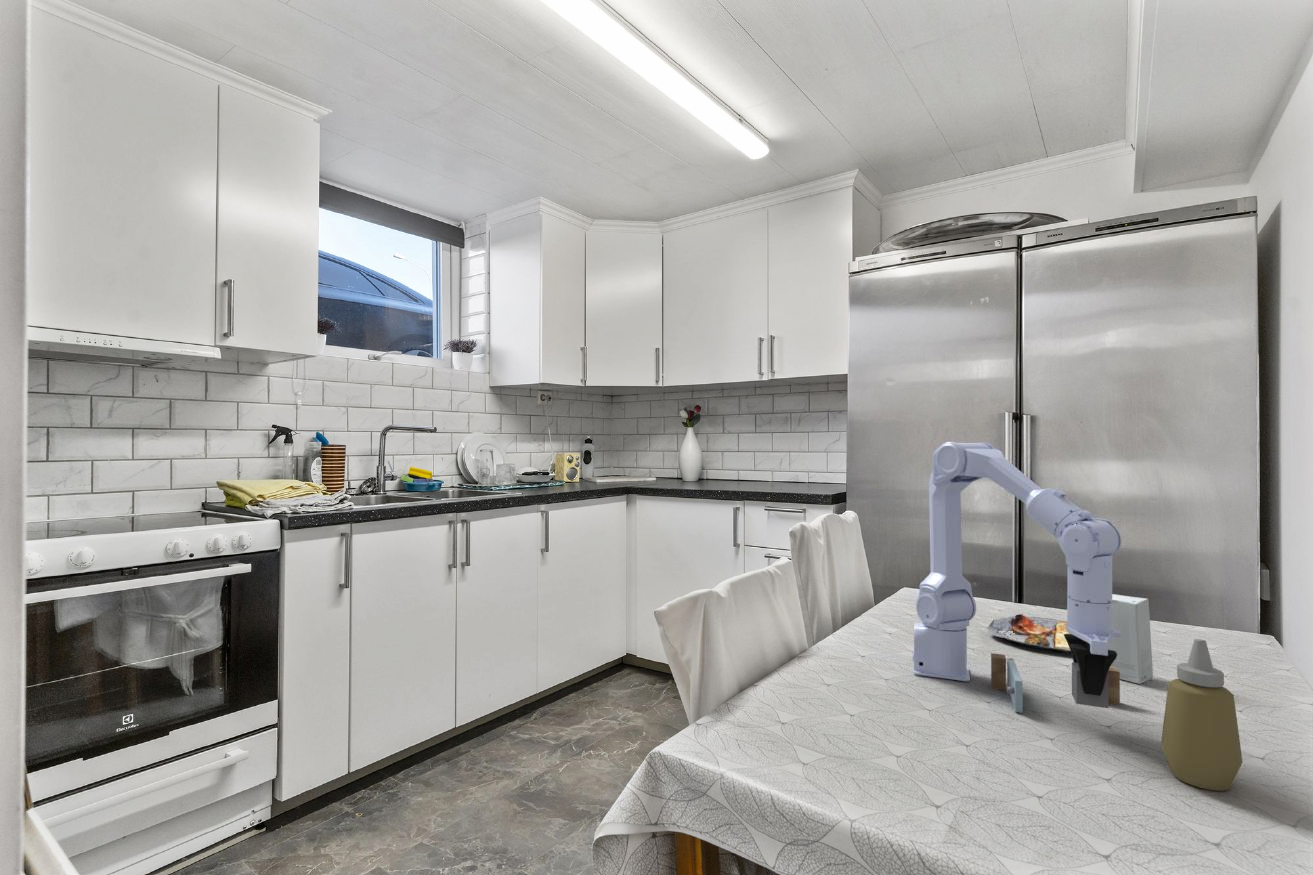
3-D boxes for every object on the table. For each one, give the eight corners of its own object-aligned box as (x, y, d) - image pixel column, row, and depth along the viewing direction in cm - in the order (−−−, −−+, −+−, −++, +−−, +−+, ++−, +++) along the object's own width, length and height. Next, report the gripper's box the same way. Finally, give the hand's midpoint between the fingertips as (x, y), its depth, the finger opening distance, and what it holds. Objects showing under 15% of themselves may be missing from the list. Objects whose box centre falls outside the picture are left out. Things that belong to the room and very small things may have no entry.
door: (1000, 685, 117) (1000, 657, 117) (1013, 686, 116) (1013, 658, 116) (1008, 710, 106) (1008, 679, 106) (1022, 712, 105) (1022, 681, 105)
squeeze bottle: (1145, 766, 88) (1144, 632, 88) (1200, 763, 88) (1200, 630, 89) (1200, 798, 80) (1199, 650, 80) (1260, 795, 80) (1260, 649, 81)
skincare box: (1153, 679, 121) (1153, 598, 121) (1139, 685, 117) (1139, 603, 118) (1102, 666, 128) (1102, 590, 128) (1088, 672, 124) (1087, 594, 125)
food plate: (999, 618, 162) (999, 604, 162) (1113, 636, 149) (1113, 620, 149) (981, 646, 142) (981, 630, 142) (1111, 669, 128) (1111, 651, 128)
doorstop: (1076, 703, 98) (1076, 670, 98) (1071, 694, 102) (1071, 662, 102) (1108, 708, 97) (1108, 674, 97) (1102, 698, 100) (1102, 666, 100)
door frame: (992, 688, 116) (991, 657, 116) (991, 683, 118) (991, 653, 118) (1120, 705, 108) (1120, 672, 108) (1117, 700, 110) (1116, 667, 111)
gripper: (1133, 613, 91) (1133, 711, 91) (1109, 591, 104) (1109, 676, 104) (1074, 608, 94) (1074, 702, 94) (1058, 587, 107) (1058, 670, 107)
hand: (1089, 688), depth 99 cm, fingers closed on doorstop, 4 cm apart
